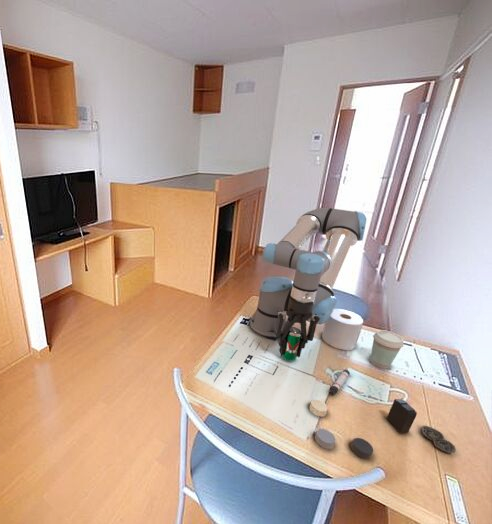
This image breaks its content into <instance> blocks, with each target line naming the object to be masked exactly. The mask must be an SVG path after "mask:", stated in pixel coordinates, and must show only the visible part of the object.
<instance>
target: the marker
mask: <svg viewBox="0 0 492 524" xmlns="http://www.w3.org/2000/svg"><path fill="white" fill-rule="evenodd" d="M349 375H350V371H349V370H348V369H343V371H342V372H341V373H340V374H339V376H338V377H337V379H336V381H334V382H333V384H332V386H331V387H330V389H329V394H330V396H334V395H336V394H338V392H339V391H340V389H341V388H342V386H343V385H344V384H345V382H346V380H347V379H348V378H349Z"/></svg>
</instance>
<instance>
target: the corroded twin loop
mask: <svg viewBox="0 0 492 524" xmlns="http://www.w3.org/2000/svg"><path fill="white" fill-rule="evenodd" d="M421 432H422V435H423V436H424V437H425V438H427V439H428V440H430V441H433V444H434V446H435V447H436V448H437V449H439V450H440V451H442V452H444V453H448V454H452V453H453V454H455V452H456V446H455V445H454V443H452V442H450V441H449V440H447V439H445V437H444V434H443V433H442V432H440V431H439V430H438V429H435V428H434V427H432V426H428V425H422V427H421Z"/></svg>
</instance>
